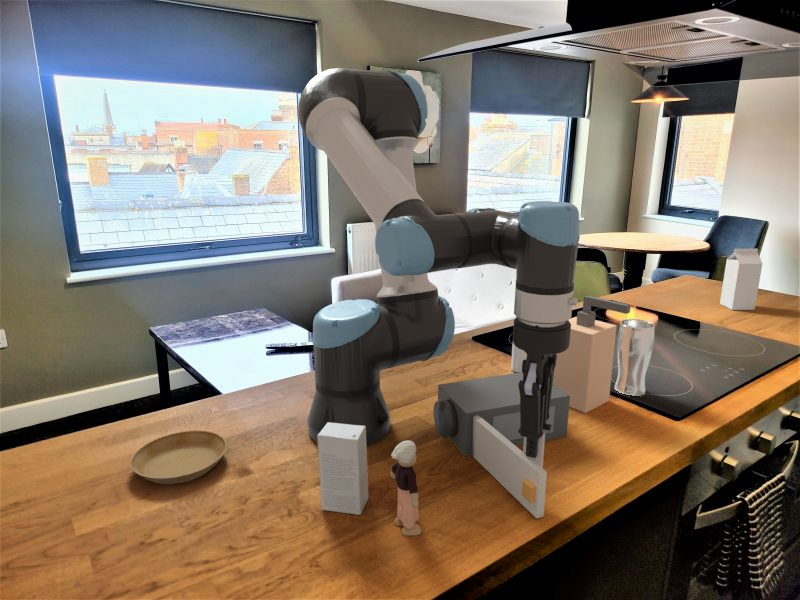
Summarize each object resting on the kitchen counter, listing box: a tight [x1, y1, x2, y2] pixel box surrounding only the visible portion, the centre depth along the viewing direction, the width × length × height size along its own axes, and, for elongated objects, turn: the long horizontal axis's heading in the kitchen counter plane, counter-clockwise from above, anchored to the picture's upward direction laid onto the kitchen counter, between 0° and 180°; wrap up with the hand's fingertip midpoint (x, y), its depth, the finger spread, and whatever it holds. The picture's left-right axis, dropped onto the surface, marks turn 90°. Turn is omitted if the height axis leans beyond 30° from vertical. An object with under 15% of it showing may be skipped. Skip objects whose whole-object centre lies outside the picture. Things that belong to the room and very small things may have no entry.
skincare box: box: [317, 422, 369, 516], centre depth 79 cm, size 6×4×12 cm
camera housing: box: [433, 372, 570, 457], centre depth 100 cm, size 22×12×9 cm, turn 109°
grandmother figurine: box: [390, 440, 423, 536], centre depth 75 cm, size 8×4×13 cm, turn 35°
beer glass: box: [614, 318, 656, 397], centre depth 116 cm, size 7×7×15 cm
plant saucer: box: [129, 430, 228, 485], centre depth 91 cm, size 15×15×3 cm
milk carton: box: [719, 248, 763, 311], centre depth 175 cm, size 7×7×19 cm
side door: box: [471, 415, 548, 519], centre depth 84 cm, size 18×2×7 cm, turn 23°
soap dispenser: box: [553, 295, 631, 414], centre depth 109 cm, size 13×9×22 cm
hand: (532, 471), depth 81 cm, fingers closed
